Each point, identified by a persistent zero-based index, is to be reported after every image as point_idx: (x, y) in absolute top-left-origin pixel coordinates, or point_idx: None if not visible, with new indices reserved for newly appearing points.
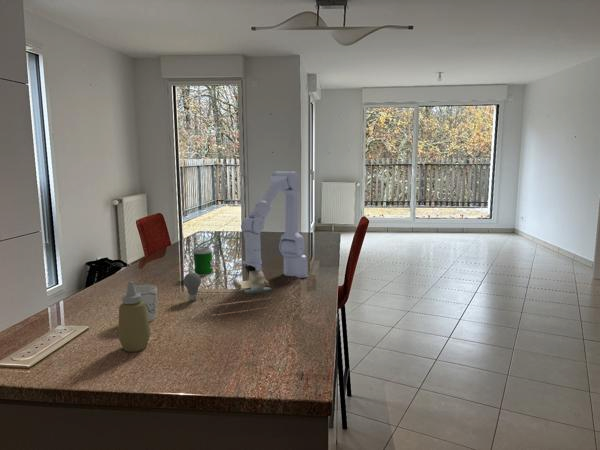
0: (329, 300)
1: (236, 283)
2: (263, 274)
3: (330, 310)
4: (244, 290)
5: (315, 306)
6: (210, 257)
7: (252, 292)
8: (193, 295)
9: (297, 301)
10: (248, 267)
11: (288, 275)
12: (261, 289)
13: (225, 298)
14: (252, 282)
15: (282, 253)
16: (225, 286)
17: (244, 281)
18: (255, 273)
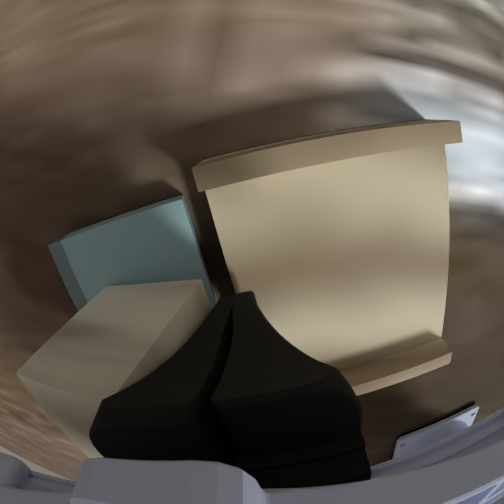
0: None
1: (315, 138)
2: None
3: (19, 454)
4: (122, 220)
5: (31, 446)
6: None
7: (71, 285)
8: None
9: (56, 431)
10: (168, 445)
11: (416, 449)
12: None
13: (55, 67)
14: (56, 335)
15: (501, 500)
16: (406, 51)
17: (436, 225)
18: (88, 429)
